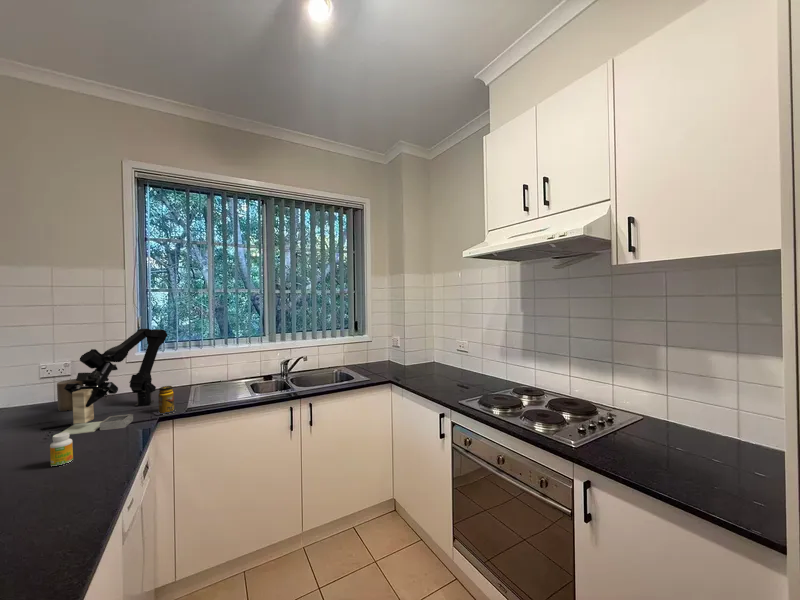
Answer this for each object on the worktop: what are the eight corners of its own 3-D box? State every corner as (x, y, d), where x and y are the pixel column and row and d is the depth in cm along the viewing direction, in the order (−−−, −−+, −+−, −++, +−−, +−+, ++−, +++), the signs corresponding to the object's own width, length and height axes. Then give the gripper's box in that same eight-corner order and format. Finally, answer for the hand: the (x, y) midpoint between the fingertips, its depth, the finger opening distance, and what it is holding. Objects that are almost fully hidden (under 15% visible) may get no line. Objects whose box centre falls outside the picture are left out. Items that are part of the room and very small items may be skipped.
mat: (74, 425, 149) (74, 424, 149) (108, 421, 153) (108, 420, 153) (56, 436, 138) (56, 435, 138) (93, 431, 141) (93, 430, 141)
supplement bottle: (53, 469, 111) (52, 439, 111) (48, 464, 114) (47, 435, 114) (75, 461, 116) (74, 433, 116) (70, 458, 119) (69, 430, 119)
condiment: (176, 412, 164) (175, 387, 164) (154, 416, 158) (154, 390, 158) (173, 408, 169) (172, 384, 169) (152, 412, 163) (151, 387, 163)
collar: (109, 423, 151) (109, 416, 151) (133, 420, 153) (132, 413, 153) (99, 430, 143) (99, 423, 143) (124, 427, 145) (124, 420, 145)
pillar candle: (87, 406, 173) (86, 377, 173) (61, 412, 165) (60, 381, 165) (80, 404, 178) (79, 375, 178) (54, 409, 170) (53, 379, 170)
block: (82, 419, 147) (81, 389, 147) (93, 419, 148) (92, 388, 147) (73, 423, 143) (72, 392, 142) (84, 423, 143) (83, 392, 143)
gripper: (66, 364, 148) (42, 398, 137) (112, 363, 149) (91, 396, 138) (83, 378, 156) (62, 410, 145) (126, 377, 157) (108, 409, 146)
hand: (80, 406), depth 144 cm, fingers closed on block, 4 cm apart
